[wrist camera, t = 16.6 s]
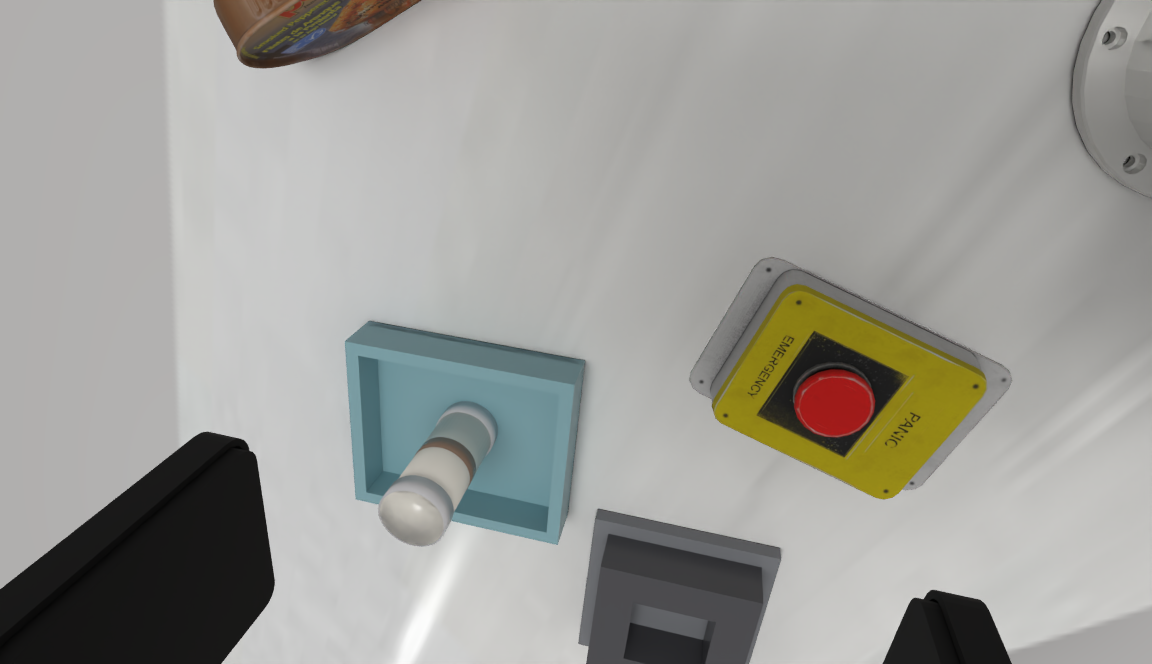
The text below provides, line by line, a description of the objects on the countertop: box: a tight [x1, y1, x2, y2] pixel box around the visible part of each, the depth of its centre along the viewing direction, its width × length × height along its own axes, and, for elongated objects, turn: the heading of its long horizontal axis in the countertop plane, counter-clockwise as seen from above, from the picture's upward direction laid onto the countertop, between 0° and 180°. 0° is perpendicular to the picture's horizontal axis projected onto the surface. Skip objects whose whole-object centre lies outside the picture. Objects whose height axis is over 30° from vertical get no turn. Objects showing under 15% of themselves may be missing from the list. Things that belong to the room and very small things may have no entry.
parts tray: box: [345, 321, 585, 545], centre depth 43 cm, size 14×12×3 cm
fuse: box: [378, 401, 498, 546], centre depth 40 cm, size 4×4×9 cm
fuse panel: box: [578, 509, 781, 664], centre depth 45 cm, size 12×12×4 cm
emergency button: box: [690, 257, 1012, 499], centre depth 36 cm, size 9×4×15 cm
